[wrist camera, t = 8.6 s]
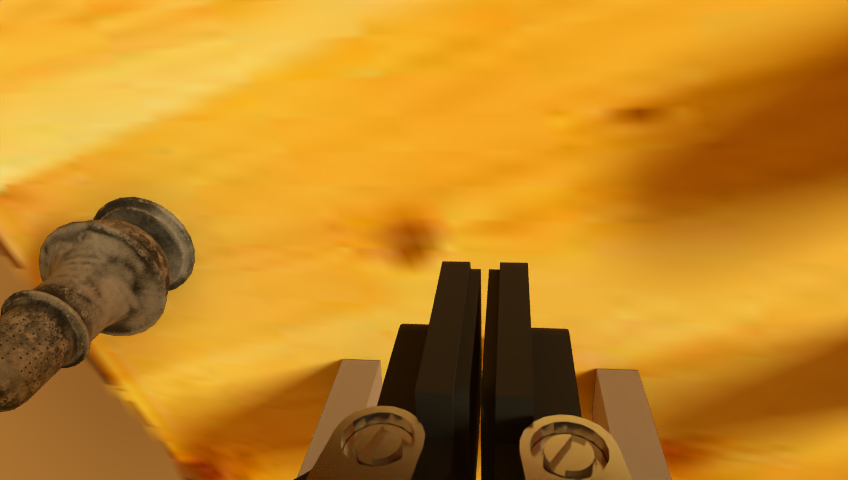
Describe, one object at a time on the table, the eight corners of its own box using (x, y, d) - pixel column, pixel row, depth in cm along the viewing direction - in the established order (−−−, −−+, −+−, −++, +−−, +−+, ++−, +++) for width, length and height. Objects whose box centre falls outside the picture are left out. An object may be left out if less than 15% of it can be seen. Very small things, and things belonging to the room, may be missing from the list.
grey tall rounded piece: (149, 171, 29) (-61, 311, 18) (223, 271, 31) (73, 450, 20) (63, 220, 30) (-175, 374, 20) (138, 312, 32) (-42, 496, 22)
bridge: (342, 359, 32) (283, 514, 24) (638, 370, 30) (691, 543, 22) (348, 403, 34) (293, 565, 25) (631, 416, 32) (679, 597, 23)
